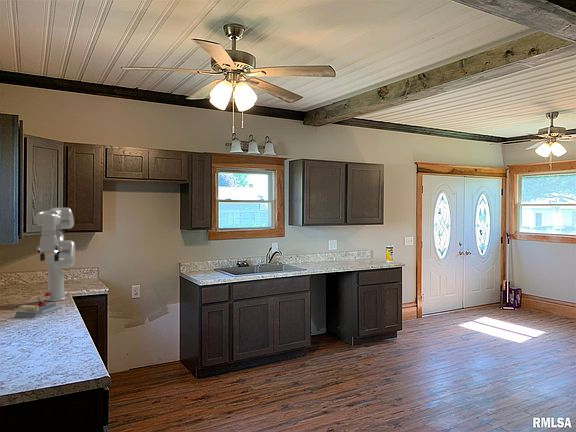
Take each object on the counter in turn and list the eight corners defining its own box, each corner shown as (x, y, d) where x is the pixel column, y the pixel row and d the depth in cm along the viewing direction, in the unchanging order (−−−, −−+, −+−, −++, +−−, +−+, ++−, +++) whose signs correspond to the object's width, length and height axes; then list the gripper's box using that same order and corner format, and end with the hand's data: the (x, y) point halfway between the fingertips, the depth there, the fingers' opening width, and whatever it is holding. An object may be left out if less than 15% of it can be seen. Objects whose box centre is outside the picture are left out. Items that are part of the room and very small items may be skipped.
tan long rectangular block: (23, 312, 260) (23, 305, 260) (38, 313, 259) (38, 305, 259) (18, 314, 256) (18, 306, 256) (33, 314, 255) (33, 307, 255)
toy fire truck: (30, 311, 262) (30, 295, 262) (47, 306, 276) (46, 291, 275) (35, 312, 261) (34, 296, 261) (51, 306, 275) (51, 291, 275)
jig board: (43, 307, 278) (42, 301, 278) (62, 307, 276) (61, 302, 276) (14, 316, 256) (14, 310, 255) (35, 317, 253) (35, 311, 253)
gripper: (32, 233, 271) (32, 261, 271) (57, 234, 268) (57, 261, 268) (41, 233, 278) (41, 259, 278) (65, 233, 275) (66, 260, 276)
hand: (49, 260), depth 273 cm, fingers open, 9 cm apart
